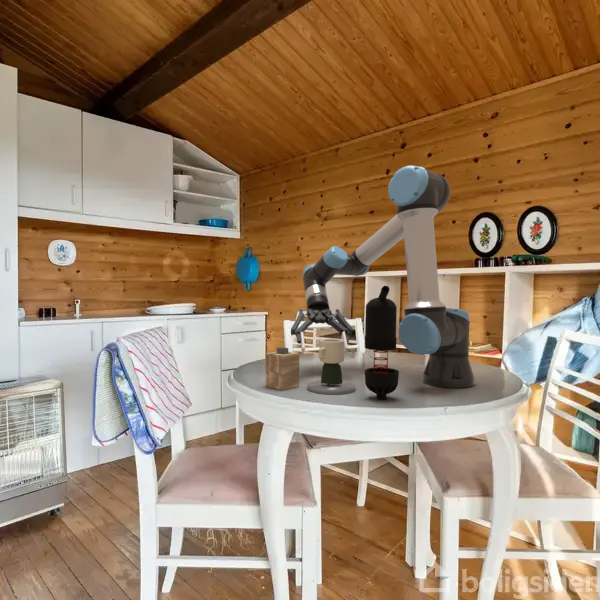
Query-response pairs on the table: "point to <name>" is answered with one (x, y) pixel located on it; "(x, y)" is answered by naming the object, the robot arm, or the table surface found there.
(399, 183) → the robot arm
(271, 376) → the block
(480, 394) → the table surface
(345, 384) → the coaster
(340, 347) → the character mug
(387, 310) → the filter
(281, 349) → the dark grey tall cylinder
